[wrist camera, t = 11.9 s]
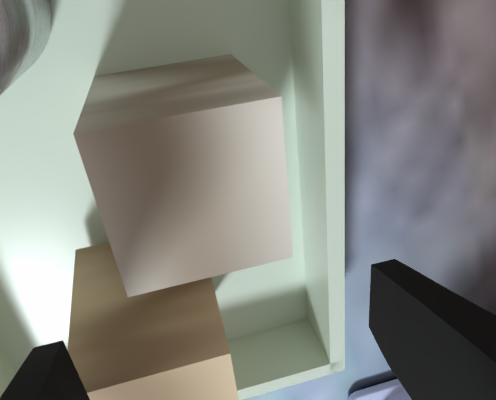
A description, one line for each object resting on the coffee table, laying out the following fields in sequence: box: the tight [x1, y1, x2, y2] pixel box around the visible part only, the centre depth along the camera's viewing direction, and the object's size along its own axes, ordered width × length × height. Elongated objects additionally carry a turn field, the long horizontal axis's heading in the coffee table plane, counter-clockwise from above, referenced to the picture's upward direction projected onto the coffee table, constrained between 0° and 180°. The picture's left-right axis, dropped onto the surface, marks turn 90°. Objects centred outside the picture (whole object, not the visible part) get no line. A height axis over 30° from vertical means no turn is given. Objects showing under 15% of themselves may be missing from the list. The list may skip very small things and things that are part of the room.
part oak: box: [68, 242, 239, 400], centre depth 13 cm, size 4×4×5 cm
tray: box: [0, 0, 345, 400], centre depth 13 cm, size 18×13×3 cm
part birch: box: [73, 54, 293, 297], centre depth 11 cm, size 4×4×5 cm
